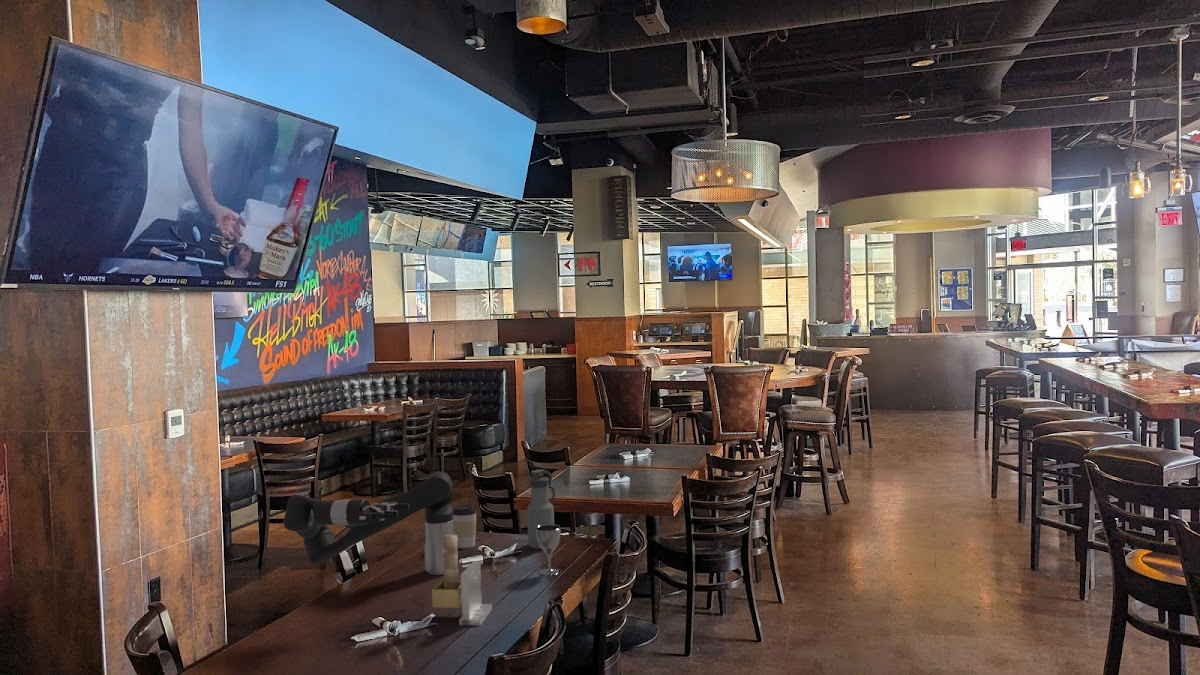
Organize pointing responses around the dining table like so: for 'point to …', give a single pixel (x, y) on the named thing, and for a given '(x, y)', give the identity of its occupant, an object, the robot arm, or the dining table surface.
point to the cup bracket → (464, 596)
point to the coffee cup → (465, 525)
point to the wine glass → (548, 544)
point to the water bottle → (539, 504)
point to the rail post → (450, 561)
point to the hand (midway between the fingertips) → (403, 511)
